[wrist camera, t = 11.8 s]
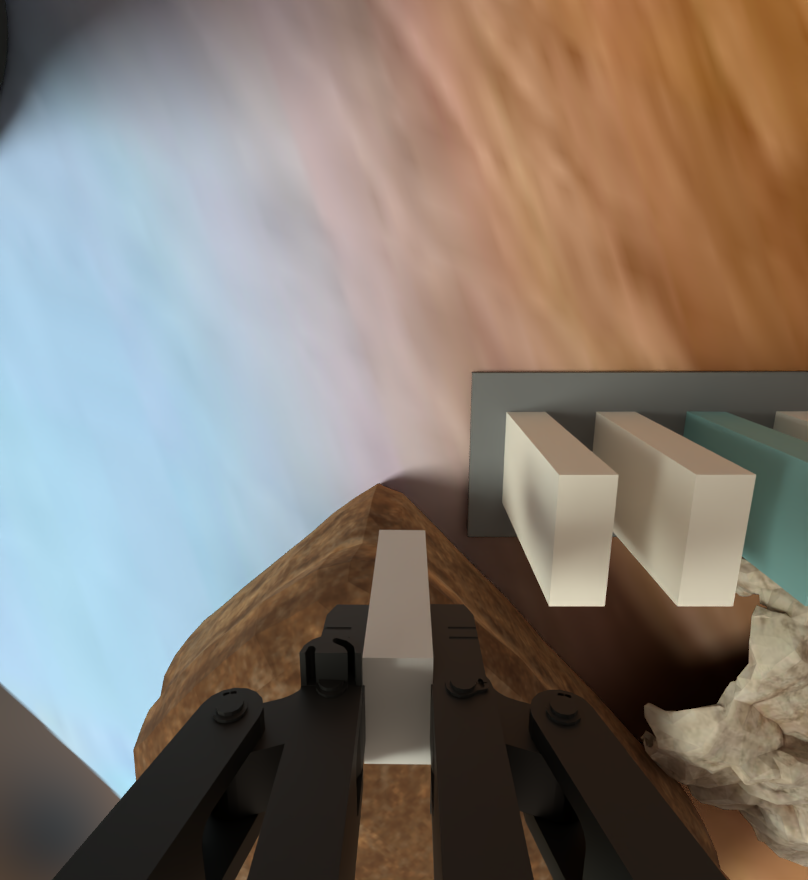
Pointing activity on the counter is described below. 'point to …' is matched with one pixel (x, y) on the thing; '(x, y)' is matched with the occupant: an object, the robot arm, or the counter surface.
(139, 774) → the bread
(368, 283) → the counter surface
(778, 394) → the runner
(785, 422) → the domino
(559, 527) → the domino
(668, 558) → the domino
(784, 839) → the rock
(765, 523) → the teal domino
